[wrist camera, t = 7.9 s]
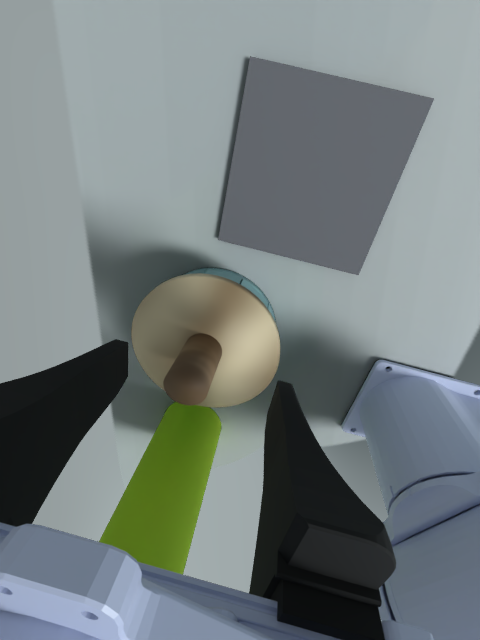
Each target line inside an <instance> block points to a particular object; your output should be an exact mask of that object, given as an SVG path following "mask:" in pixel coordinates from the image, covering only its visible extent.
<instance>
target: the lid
mask: <svg viewBox="0 0 480 640" xmlns="http://www.w3.org/2000/svg"><path fill="white" fill-rule="evenodd" d="M131 337H132V344H133V348H134V352H135V355H136V357H137V359H138V361H139V363H140V365H141V366H142V368H143V370H144V371H145V372H146V374H147V375H148V376H149V377H150V378H151V379H152V380H153V382H154V383H156V384H157V385H158V386H159V387H160V388H162V389H163V390H164V391H165V392H166V393H167V395H168V396H169V397H170V398H171V399H173V400H174V401H176V402H177V403H180V404H183V405H189V406H191V405H198V406H204V407H215V408H219V407H229V406H235V405H238V404H242V403H244V402H246V401H249V400H251V399H252V398H254V397H256V396H257V395H259V394H260V393H261V392H262V391H263V390H264V389H265V388H266V387H267V386H268V385H269V384H270V382H271V381H272V379H273V378H274V375H275V373H276V371H277V368H278V364H279V358H280V337H279V332H278V328H277V325H276V323H275V320H274V318H273V317H272V315H271V313H270V311H269V310H268V309H267V307H266V306H265V304H264V303H263V302H262V301H261V300H260V299H259V298H258V297H257V296H256V295H255V294H253V293H252V292H251V291H250V290H248V289H247V288H245V287H244V286H242V285H240V284H238V283H236V282H234V281H232V280H230V279H227V278H224V277H221V276H217V275H212V274H202V273H196V274H186V275H180V276H177V277H174V278H171V279H169V280H167V281H165V282H163V283H161V284H160V285H159V286H157V287H156V288H155V289H153V290H152V291H151V292H150V293H149V294H148V295H147V296H146V297H145V298H144V299H143V300H142V302H141V303H140V305H139V306H138V308H137V310H136V312H135V315H134V318H133V322H132V329H131Z"/></svg>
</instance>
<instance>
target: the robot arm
mask: <svg viewBox="0 0 480 640" xmlns="http://www.w3.org/2000/svg"><path fill="white" fill-rule="evenodd" d="M388 366H389V367H390V368H389V369H385V368H386V367H388ZM127 377H128V342H124V341H120V340H113V341H111V342H109V343H106V344H104V345H102V346H100V347H98V348H96V349H94V350H92V351H89V352H87V353H85V354H83V355H81V356H79V357H76V358H74V359H72V360H69V361H67V362H64V363H62V364H60V365H57V366H55V367H52V368H49V369H47V370H44V371H41V372H38V373H35V374H32V375H29V376H26V377H23V378H19V379H15V380H12V381H8V382H5V383H1V384H0V640H480V385H477V384H474V383H470V382H466V381H462V380H458V379H455V378H451V377H447V376H443V375H439V374H435V373H432V372H428V371H424V370H420V369H416V368H412V367H409V366H405V365H401V364H397V363H393V362H390V361H386V360H378V361H376V363H375V364H374V366H373V368H372V369H371V371H370V373H369V375H368V377H367V379H366V381H365V382H364V384H363V386H362V388H361V390H360V392H359V394H358V395H357V397H356V399H355V401H354V403H353V405H352V406H351V408H350V410H349V412H348V414H347V416H346V418H345V419H344V421H343V423H342V430H343V431H345V432H348V433H351V434H355V435H359V436H362V437H366V440H367V443H368V447H369V450H370V454H371V457H372V461H373V464H374V468H375V471H376V475H377V478H378V482H379V485H380V489H381V492H382V496H383V499H384V503H385V506H386V510H387V513H388V518H387V519H386V520H385V521H384V522H383V523H382V522H381V520H380V519H378V518H377V516H376V515H375V514H373V512H372V511H371V510H370V509H369V508H368V507H367V506H366V505H365V504H364V503H363V502H362V501H361V500H360V499H359V498H358V496H357V495H356V494H355V493H354V492H353V491H352V489H351V488H350V487H349V486H348V485H347V483H346V482H345V481H344V480H343V478H342V477H341V476H340V474H339V473H338V472H337V470H336V469H335V468H334V467H333V465H332V464H331V462H330V461H329V459H328V458H327V456H326V455H325V453H324V452H323V450H322V449H321V447H320V445H319V443H318V442H317V440H316V438H315V436H314V434H313V432H312V431H311V429H310V427H309V425H308V423H307V420H306V418H305V416H304V414H303V412H302V409H301V407H300V405H299V402H298V400H297V397H296V394H295V391H294V388H293V386H292V384H290V383H286V382H282V381H278V382H277V386H276V389H275V392H274V395H273V398H272V401H271V404H270V407H269V410H268V413H267V420H266V427H265V441H264V481H263V494H262V502H261V512H260V519H259V527H258V535H257V542H256V550H255V557H254V564H253V571H252V578H251V585H250V592H249V593H245V592H242V591H238V590H235V589H232V588H228V587H224V586H221V585H218V584H214V583H211V582H207V581H204V580H200V579H196V578H193V577H189V576H186V575H183V574H179V573H176V572H172V571H169V570H165V569H162V568H158V567H155V566H151V565H148V564H144V563H141V562H137V560H136V559H135V558H133V557H132V556H131V555H130V554H128V553H127V552H126V551H123V550H121V549H119V548H116V547H114V546H112V545H108V544H105V543H101V542H98V541H94V540H90V539H87V538H83V537H80V536H76V535H73V534H69V533H66V532H62V531H59V530H55V529H52V528H48V527H45V526H41V525H35V524H32V522H33V521H34V519H35V517H36V515H37V513H38V511H39V509H40V508H41V506H42V504H43V502H44V501H45V499H46V497H47V495H48V493H49V492H50V490H51V488H52V487H53V485H54V483H55V482H56V480H57V478H58V477H59V475H60V473H61V472H62V470H63V468H64V467H65V465H66V463H67V462H68V460H69V459H70V457H71V456H72V454H73V452H74V451H75V449H76V448H77V446H78V445H79V443H80V442H81V440H82V439H83V437H84V436H85V435H86V433H87V432H88V431H89V429H90V428H91V427H92V426H93V424H94V423H95V422H96V421H97V419H98V418H99V417H100V416H101V414H102V413H103V412H104V411H105V409H106V408H107V407H108V406H109V404H110V403H111V402H112V400H113V399H114V398H115V397H116V395H117V394H118V392H119V391H120V389H121V387H122V386H123V384H124V382H125V380H126V379H127ZM476 390H478V391H476ZM475 391H476V392H475ZM351 428H354V429H351ZM380 618H381V619H380Z"/></svg>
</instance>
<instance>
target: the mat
mask: <svg viewBox="0 0 480 640" xmlns="http://www.w3.org/2000/svg"><path fill="white" fill-rule="evenodd" d="M433 100H434V98H429V97H425V96H420V95H416V94H412V93H407V92H403V91H399V90H394V89H390V88H386V87H381V86H377V85H373V84H368V83H364V82H360V81H355V80H351V79H347V78H342V77H338V76H333V75H329V74H325V73H320V72H316V71H312V70H307V69H303V68H299V67H294V66H290V65H286V64H281V63H277V62H273V61H268V60H264V59H259V58H255V57H251V56H250V60H249V66H248V71H247V77H246V83H245V89H244V94H243V100H242V106H241V111H240V117H239V123H238V129H237V134H236V140H235V146H234V152H233V157H232V163H231V169H230V174H229V180H228V186H227V192H226V197H225V203H224V209H223V215H222V220H221V226H220V232H219V237H218V240H221V241H225V242H229V243H233V244H237V245H241V246H245V247H249V248H253V249H257V250H261V251H265V252H268V253H272V254H276V255H280V256H284V257H288V258H292V259H296V260H300V261H304V262H308V263H312V264H316V265H320V266H324V267H328V268H332V269H336V270H340V271H344V272H348V273H352V274H356V275H359V273H360V270H361V268H362V266H363V263H364V261H365V259H366V256H367V254H368V252H369V249H370V247H371V245H372V242H373V240H374V238H375V235H376V233H377V231H378V228H379V226H380V224H381V221H382V219H383V217H384V214H385V212H386V210H387V207H388V205H389V203H390V200H391V198H392V196H393V193H394V191H395V189H396V186H397V184H398V182H399V179H400V177H401V175H402V172H403V170H404V168H405V165H406V163H407V161H408V158H409V156H410V154H411V151H412V149H413V147H414V144H415V142H416V140H417V137H418V135H419V133H420V130H421V128H422V126H423V123H424V121H425V119H426V116H427V114H428V112H429V109H430V107H431V105H432V102H433Z"/></svg>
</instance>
